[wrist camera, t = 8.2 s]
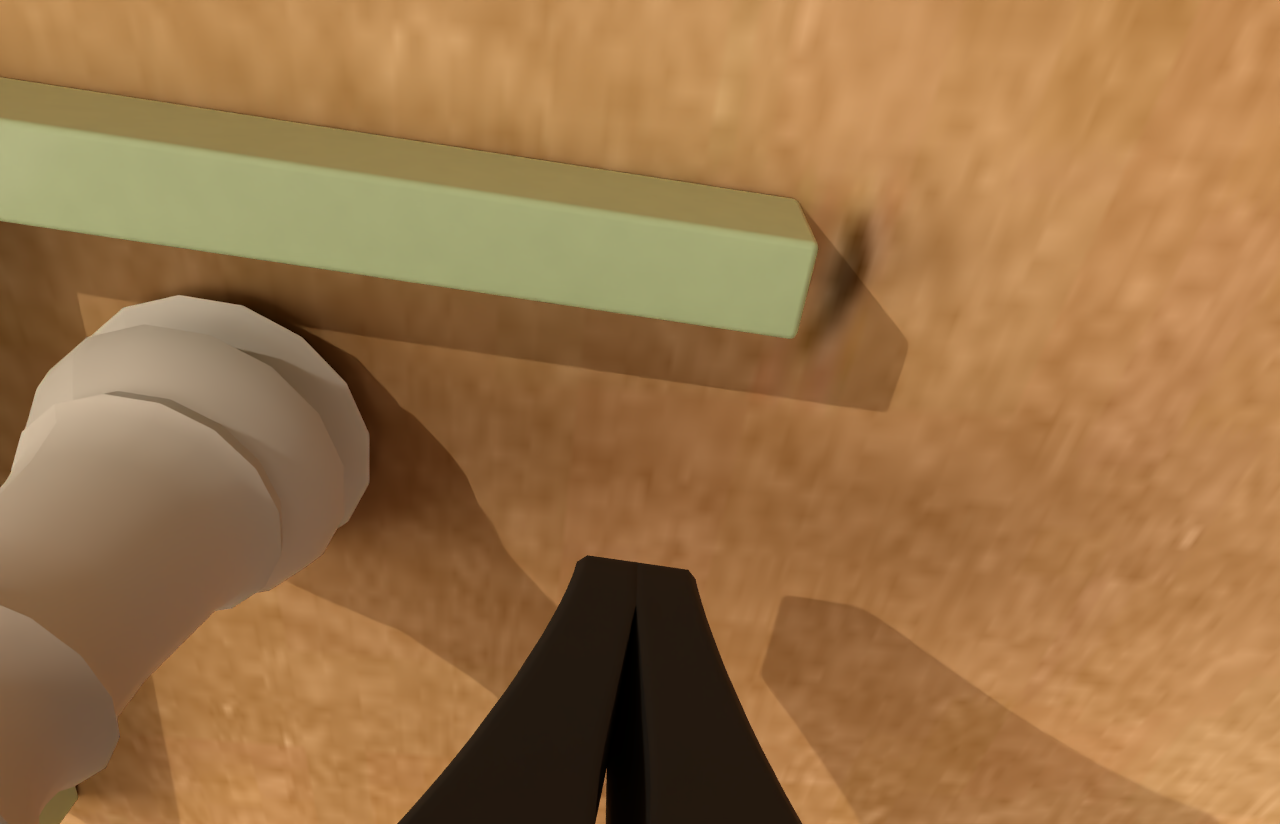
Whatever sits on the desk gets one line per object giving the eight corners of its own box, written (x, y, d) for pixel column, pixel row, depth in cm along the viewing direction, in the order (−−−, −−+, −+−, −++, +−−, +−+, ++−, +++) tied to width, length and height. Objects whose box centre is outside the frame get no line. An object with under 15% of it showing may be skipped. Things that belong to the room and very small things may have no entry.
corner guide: (643, 872, 18) (638, 972, 16) (22, 790, 18) (-51, 881, 16) (799, 197, 11) (822, 243, 9) (-224, 41, 11) (-403, 57, 9)
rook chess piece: (29, 352, 13) (-800, 850, 6) (267, 233, 12) (-385, 664, 4) (216, 568, 14) (-229, 1147, 7) (436, 484, 13) (159, 1066, 6)
